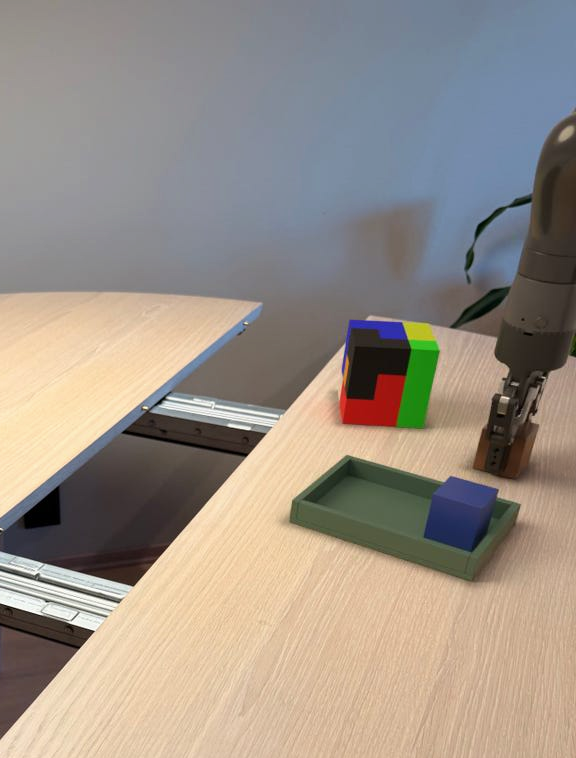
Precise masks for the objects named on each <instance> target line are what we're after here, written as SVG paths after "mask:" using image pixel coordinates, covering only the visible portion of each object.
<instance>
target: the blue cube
mask: <svg viewBox="0 0 576 758" xmlns="http://www.w3.org/2000/svg"><path fill="white" fill-rule="evenodd" d="M443 482H444V483H443V484H442V485H441V486H440V487H439V488H438V489H437V491H436V492H435V493H434V494H433V497H432V501H431V505H430V510H429V514H428V518H427V522H426V527H425V531H424V535H423V537H424V538H427V539H431V540H434V541H437V542H440V543H443V544H447V545H450V546H453V547H456V548H460V549H463V550H466V551H469V552H472V550H473V549H474V548H475V547H476V545H477V544H478V543H479V542H480V540H481V539H482V538H483V537H484V535H485V534H486V533H487V531H488V527H489V524H490V520H491V517H492V513H493V509H494V506H495V502H496V499H497V497H498V494H499V491H500V489H499V488H498V487H497V488H496V487H493V486H489V485H486V484H482V483H478V482H474V481H471V480H467V479H464V478H460V477H457V476H454V475H450V476H449V477H448V478H447V479H446V480H445V481H443Z"/></svg>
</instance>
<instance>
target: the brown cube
mask: <svg viewBox="0 0 576 758" xmlns="http://www.w3.org/2000/svg"><path fill="white" fill-rule="evenodd" d="M487 424H488V422H487V423H486V424H485V425H484V426H483V427H482V428H481V432H480V435H479V440H478V444H477V448H476V452H475V456H474V459H473V464H472V469H476V470H479V471H484V472H485V473H486V472H487V471H485V470H484V464H485V460H486V456H487V452H488V449H489V445H490V441H485V434H486V430H487ZM539 428H540V424H539V423H535V422H527V421H525V423H524V424H523V425H520V426H518V429H517V431H516V434H515V437H514V442H513V443H512V445H511V449H510V452H509V456H508V460H507V463H506V467H505V470H504V472H503V473H502V474H500V475H499V476H501V477H505V478H509V479H513V480H516V479H517V478H518V477H519V475H520V474H521V473H522V472H523V471H524V470H525V468H527V466H528V465H529V464H530V461H531V460H530V459H531V456H532V453H533V449H534V445H535V443H536V439H537V437H538V436H537V435H538V432H539ZM498 431H499V432H503V433H505V429H504V428H502V427H499V429H498ZM487 473H488V472H487Z"/></svg>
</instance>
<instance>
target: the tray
mask: <svg viewBox="0 0 576 758" xmlns="http://www.w3.org/2000/svg"><path fill="white" fill-rule="evenodd" d="M444 482H445V481H441V480H438V479H434V478H431V477H427V476H424V475H420V474H417V473H413V472H410V471H406V470H402V469H399V468H396V467H393V466H392V467H391V466H388V465H385V464H381V463H377V462H375V461H370V460H367V459H364V458H360V457H357V456H353V455H350V454H346V455H344V456H343V457H342V458H341V459H340V460H338V461H337V462H336V463H335V464H334V465H333V466H331V467H330V468H329V469H328V470H326V471H325V472H323V474H321V476H319V477H318V478H317V479H316V480H314V481H313V482H312V483H311V484H310V485H308V486H307V487H306V488H305V489H303V490H302V491H301V492H299V494H298V495H296V496H295V497H294V498H293V499H291V503H290V504H291V505H290V512H289V519H288V522H289V523H292V524H295V525H298V526H302V527H305V528H306V529H311V530H313V531H316V532H320V533H323V534H325V535H328V536H332V537H335V538H338V539H341V540H343V541H347V542H350V543H353V544H356V545H360V546H363V547H365V548H368V549H371V550H373V551H374V550H375V551H377V552H381V553H383V554H387V555H390V556H393V557H396V558H399V559H402V560H405V561H408V562H411V563H415V564H417V565H420V566H424V567H427V568H430V569H432V570H436V571H439V572H441V573H445V574H448V575H450V576H455V577H457V578H460V579H463V580H466V581H468V582H473V580H474V579H475V578H476V576H477V575H478V574H479V572H481V570H482V569H483V568H484V566H485V565H486V563H487V562H488V561H489V560H490V558H491V557H492V556H493V554H494V553H495V552H496V551H497V550H498V548H499V547H500V545H501V544H502V543H503V542H504V540H505V539H506V538H507V537H508V535H509V534H510V532H511V531H512V530H513V529H514V528H515V526H516V524H517V520H518V517H519V514H520V510H521V508H522V507H521V506H522V504H521V503H519V502H517V501H512V500H509V499H506V498H502V497H499V496H497V499H496V502H495V506H494V509H493V513H492V517H491V520H490V524H489V527H488V531H487V533H486V534H485V535H484V537H483V538H482V539H481V540H480V542H479V543H478V544H477V545H476V547H475V548H474V549H473V550H472V552H469V551H466V550H463V549H460V548H456V547H453V546H450V545H447V544H443V543H440V542H437V541H434V540H431V539H427V538H424V537H423V535H424V531H425V527H426V522H427V518H428V514H429V510H430V505H431V501H432V497H433V494H434V493H435V492H436V491H437V489H438V488H439V487H440V486H441V485H442V484H443V483H444Z"/></svg>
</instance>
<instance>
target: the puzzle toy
mask: <svg viewBox="0 0 576 758" xmlns="http://www.w3.org/2000/svg"><path fill="white" fill-rule="evenodd" d="M440 352H441V350H440V347H439V344H438V343H437V340H436V338H435V335H434V333H433V330H432V327H431V325H430V323H427V322H409V321H387V320H369V319H349V320H348V326H347V331H346V338H345V344H344V352H343V357H342V363H341V370H340V377H339V382H338V390H337V398H338V404H339V405H338V406H339V410H340V417H341V423H342V424H344V425H345V424H346V425H359V426H360V425H362V426H376V427H377V426H378V427H393V428H394V427H395V428H397V427H398V428H409V429H410V428H411V429H424V426H425V422H426V417H427V412H428V408H429V402H430V398H431V394H432V389H433V385H434V380H435V376H436V375H435V374H436V371H437V366H438V361H439V356H440Z"/></svg>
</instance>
